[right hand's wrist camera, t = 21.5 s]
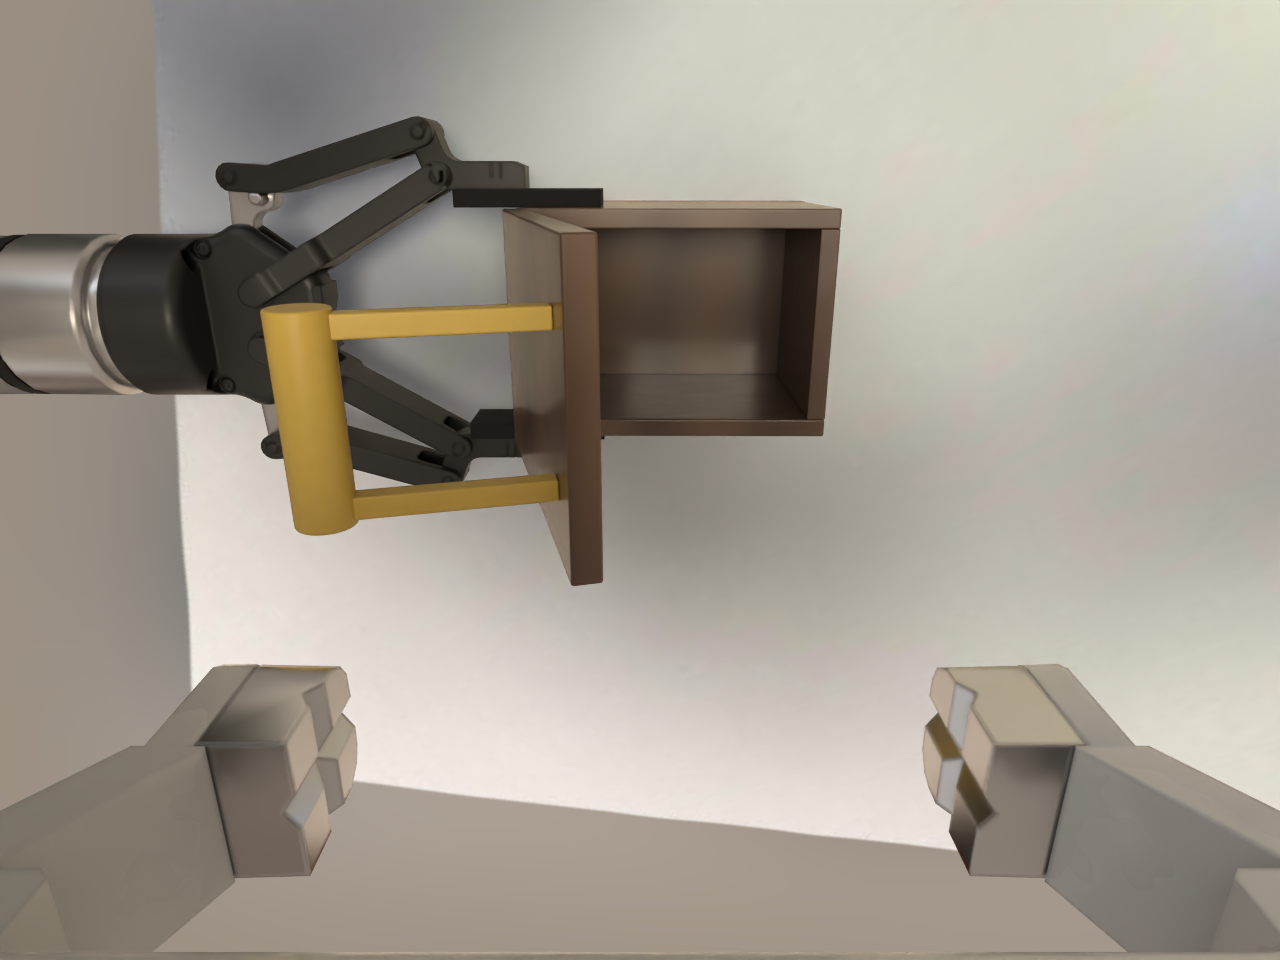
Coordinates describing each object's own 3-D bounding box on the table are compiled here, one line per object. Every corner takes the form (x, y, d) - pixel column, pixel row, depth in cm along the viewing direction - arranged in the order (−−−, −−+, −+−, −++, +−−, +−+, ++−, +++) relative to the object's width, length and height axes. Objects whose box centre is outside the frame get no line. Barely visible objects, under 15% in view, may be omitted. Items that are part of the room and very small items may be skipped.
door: (598, 232, 21) (231, 237, 19) (604, 583, 24) (295, 620, 22) (525, 209, 34) (306, 210, 32) (536, 438, 38) (339, 453, 36)
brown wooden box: (800, 200, 44) (842, 208, 34) (788, 385, 47) (823, 436, 38) (542, 200, 44) (515, 207, 35) (549, 384, 47) (526, 436, 38)
